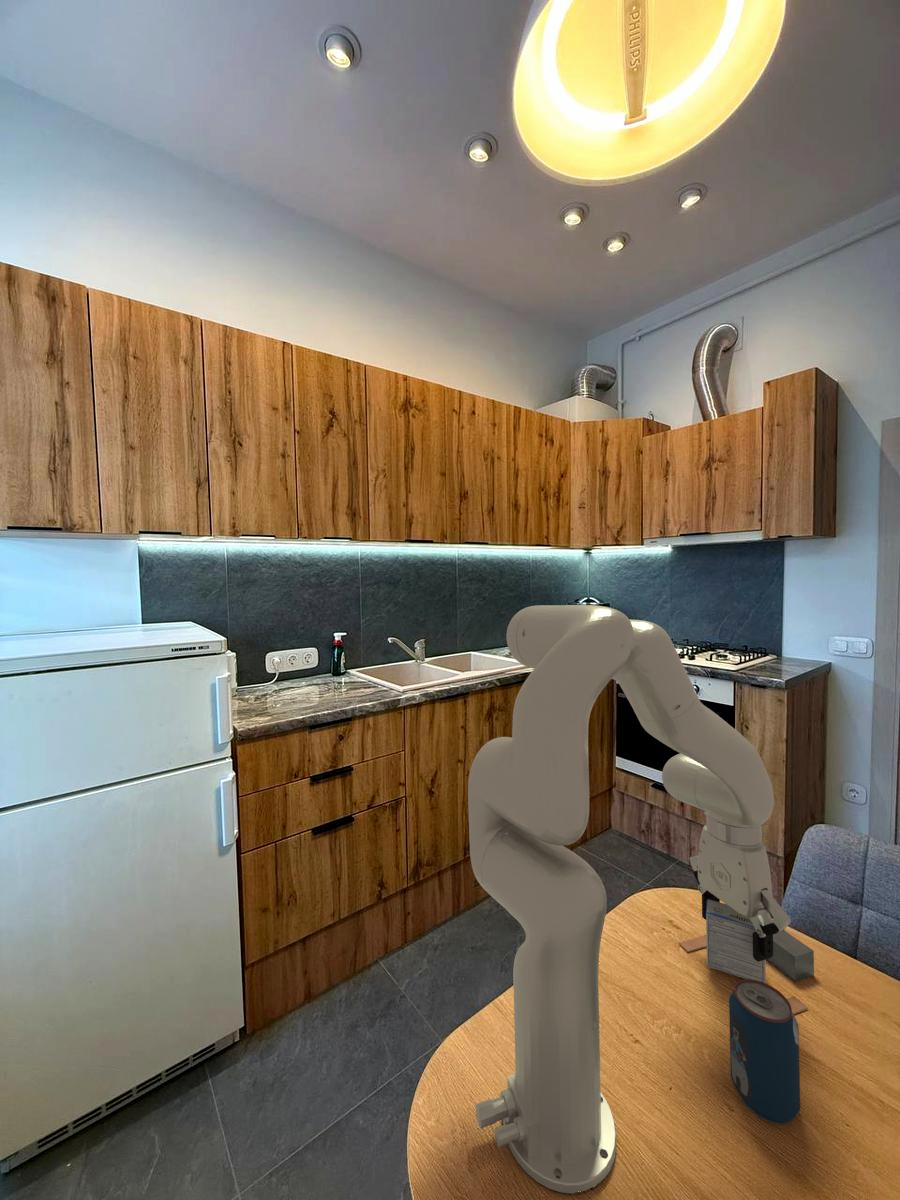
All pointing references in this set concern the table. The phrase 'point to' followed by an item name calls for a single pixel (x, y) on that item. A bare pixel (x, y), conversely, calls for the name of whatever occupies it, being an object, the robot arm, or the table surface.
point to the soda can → (764, 1051)
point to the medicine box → (732, 942)
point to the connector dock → (778, 959)
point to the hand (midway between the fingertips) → (735, 936)
